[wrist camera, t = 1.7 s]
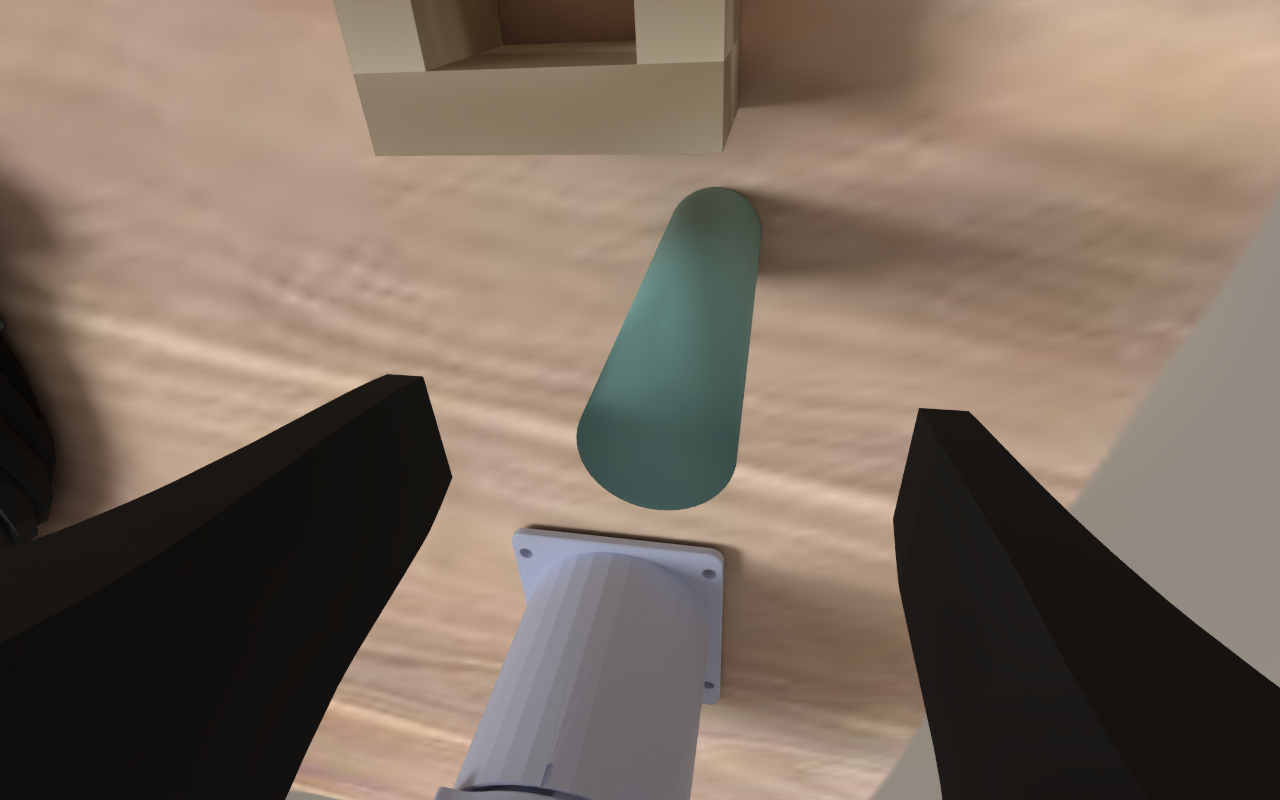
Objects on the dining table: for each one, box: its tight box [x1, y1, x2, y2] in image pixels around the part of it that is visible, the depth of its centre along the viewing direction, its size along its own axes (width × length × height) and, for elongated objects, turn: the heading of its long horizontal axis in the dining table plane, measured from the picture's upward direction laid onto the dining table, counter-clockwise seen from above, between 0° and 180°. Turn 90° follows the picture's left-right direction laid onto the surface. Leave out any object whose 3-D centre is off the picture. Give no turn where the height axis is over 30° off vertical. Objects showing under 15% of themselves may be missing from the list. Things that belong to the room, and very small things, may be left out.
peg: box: [577, 187, 762, 510], centre depth 13 cm, size 2×2×9 cm
